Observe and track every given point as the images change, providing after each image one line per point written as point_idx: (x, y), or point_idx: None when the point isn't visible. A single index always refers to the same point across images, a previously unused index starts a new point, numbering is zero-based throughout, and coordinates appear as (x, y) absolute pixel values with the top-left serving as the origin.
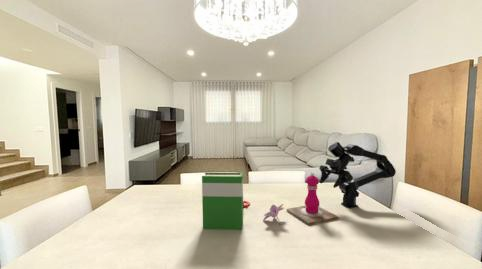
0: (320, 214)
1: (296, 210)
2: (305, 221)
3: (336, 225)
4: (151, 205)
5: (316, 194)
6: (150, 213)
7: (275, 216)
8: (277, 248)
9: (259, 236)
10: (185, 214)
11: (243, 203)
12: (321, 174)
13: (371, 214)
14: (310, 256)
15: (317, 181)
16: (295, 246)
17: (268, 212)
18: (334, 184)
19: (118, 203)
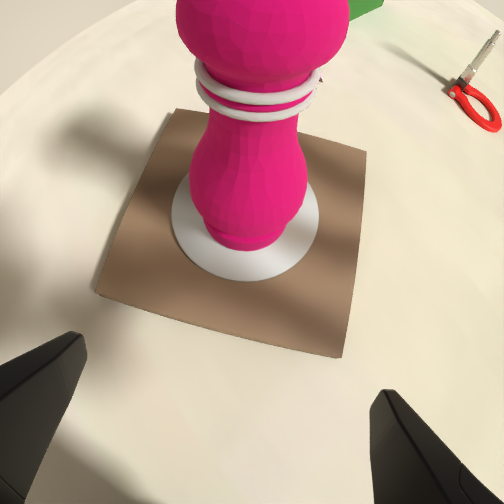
0: (179, 215)
1: (321, 169)
2: (196, 112)
3: (79, 212)
4: (485, 25)
5: (216, 147)
6: (448, 4)
7: None
8: (170, 10)
9: None
10: (432, 14)
11: (459, 81)
12: (494, 495)
13: (33, 494)
14: (93, 37)
15: (176, 3)
16: (139, 32)
17: None
18: (53, 351)
19: (495, 18)
